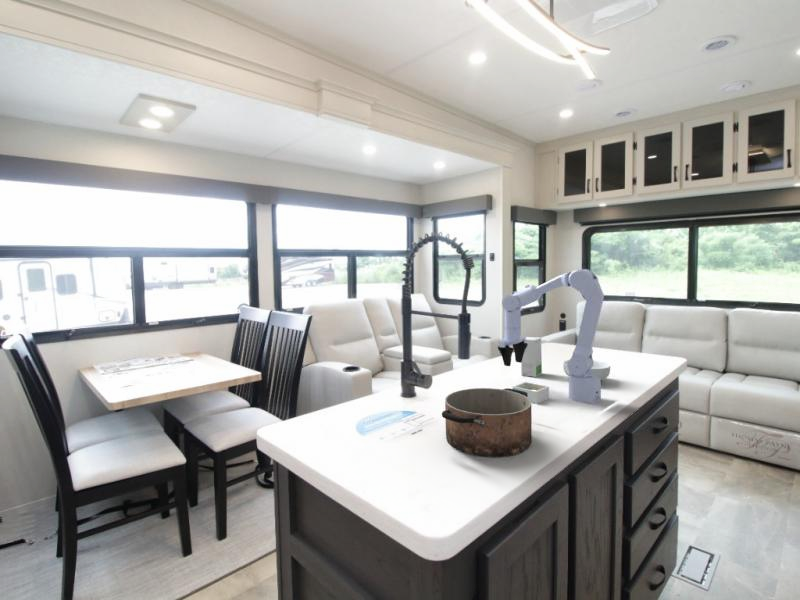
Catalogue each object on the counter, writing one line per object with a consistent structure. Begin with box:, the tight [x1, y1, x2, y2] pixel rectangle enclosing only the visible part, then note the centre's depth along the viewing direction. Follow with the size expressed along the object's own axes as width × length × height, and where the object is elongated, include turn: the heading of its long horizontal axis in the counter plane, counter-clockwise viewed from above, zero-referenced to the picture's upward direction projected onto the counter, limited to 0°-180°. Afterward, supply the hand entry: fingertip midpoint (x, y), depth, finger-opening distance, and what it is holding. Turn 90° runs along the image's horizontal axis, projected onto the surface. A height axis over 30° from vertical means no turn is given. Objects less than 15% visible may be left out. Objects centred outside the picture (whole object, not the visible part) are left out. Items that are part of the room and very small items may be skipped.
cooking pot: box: [441, 387, 533, 458], centre depth 109 cm, size 30×22×11 cm
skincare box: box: [520, 336, 543, 378], centre depth 173 cm, size 8×7×16 cm
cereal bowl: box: [563, 359, 611, 381], centre depth 161 cm, size 17×17×7 cm
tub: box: [512, 381, 550, 405], centre depth 140 cm, size 9×8×4 cm
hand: (513, 363), depth 151 cm, fingers open, 7 cm apart
